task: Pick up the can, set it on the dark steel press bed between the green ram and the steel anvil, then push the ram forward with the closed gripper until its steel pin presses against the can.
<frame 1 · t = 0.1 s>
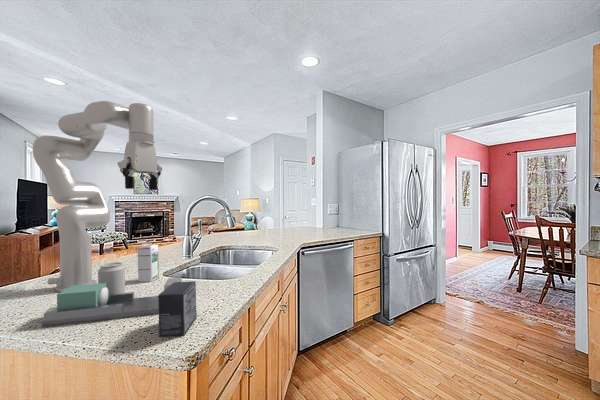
hand: (142, 189, 97), 37 cm above the countertop, tool pointing down, fingers open, 9 cm apart
press bed: (120, 310, 83), on the countertop
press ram: (85, 298, 81), point 5 cm above the countertop, slide at 0.0 cm
syrup box: (148, 280, 116), on the countertop
small box: (178, 327, 72), on the countertop
can: (112, 300, 93), on the countertop
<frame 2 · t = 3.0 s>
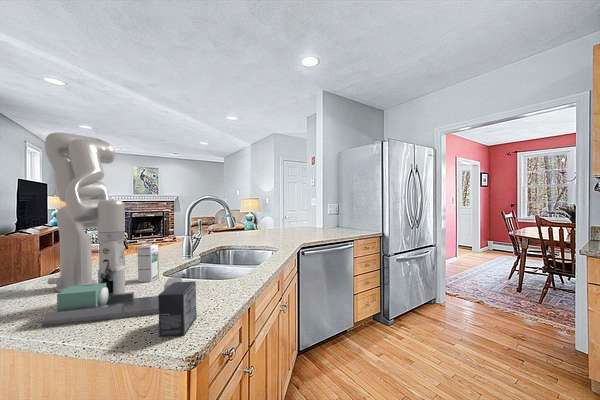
hand: (111, 289, 93), 3 cm above the countertop, tool pointing down, fingers closed on can, 7 cm apart
can: (111, 300, 93), on the countertop, touching gripper
everything else where it was.
when the fingers open (6 cm above the countertop, at t = 9.8 s): can drops 1 cm, resting on press bed.
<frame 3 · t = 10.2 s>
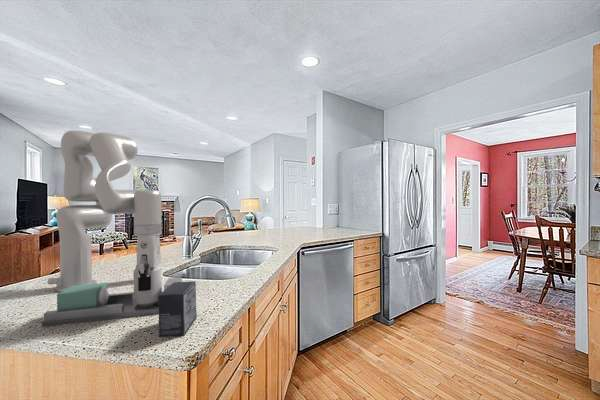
hand: (148, 285, 86), 7 cm above the countertop, tool pointing down, fingers open, 9 cm apart
can: (148, 303, 86), point 1 cm above the countertop, touching press bed
everything else where it was.
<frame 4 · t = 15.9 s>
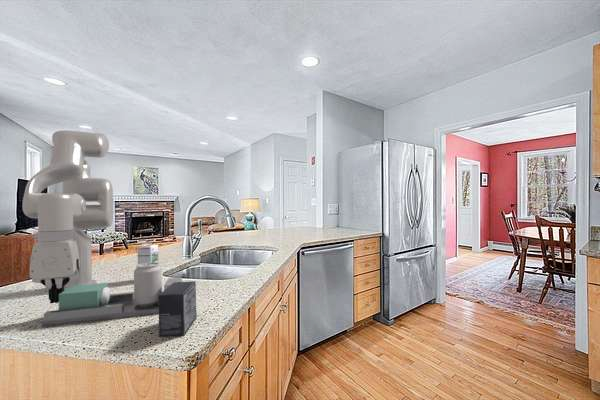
hand: (56, 301, 79), 5 cm above the countertop, tool pointing down, fingers closed
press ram: (87, 297, 81), point 5 cm above the countertop, slide at 0.4 cm, touching gripper
everything else where it was.
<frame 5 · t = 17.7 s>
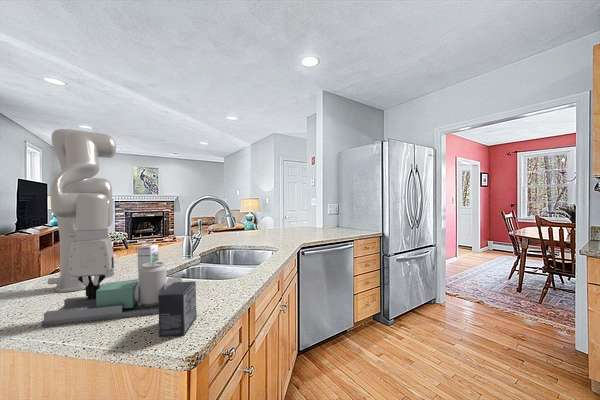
hand: (92, 297, 81), 5 cm above the countertop, tool pointing down, fingers closed
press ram: (121, 294, 84), point 5 cm above the countertop, slide at 9.1 cm, touching can, gripper
can: (153, 302, 86), point 1 cm above the countertop, touching press bed, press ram
everything else where it was.
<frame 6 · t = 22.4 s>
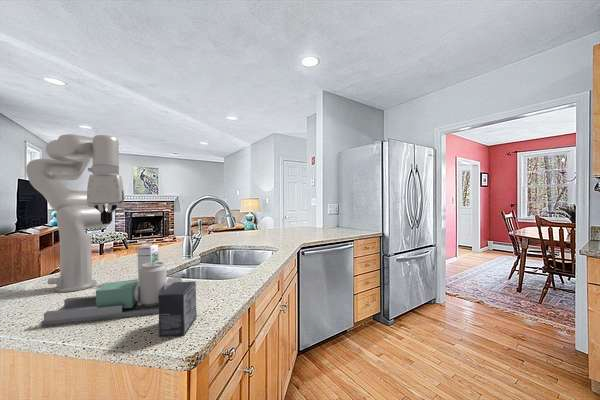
hand: (106, 223, 97), 25 cm above the countertop, tool pointing down, fingers closed
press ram: (120, 294, 83), point 5 cm above the countertop, slide at 9.0 cm
can: (153, 302, 86), point 1 cm above the countertop, touching press bed
everything else where it was.
at the end: can 2.1 cm from the target spot on the press bed, point 1.3 cm above the press bed's base; can tilted 0°; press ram slide at 9.0 cm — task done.
